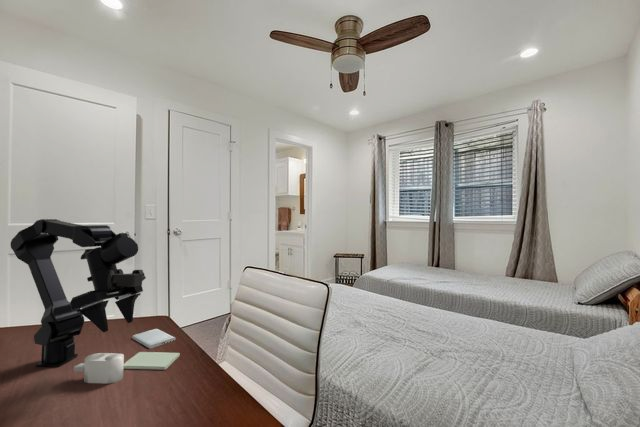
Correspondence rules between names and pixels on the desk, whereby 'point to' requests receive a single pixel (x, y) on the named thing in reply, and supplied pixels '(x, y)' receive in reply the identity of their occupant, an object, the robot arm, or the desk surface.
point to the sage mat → (151, 360)
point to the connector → (102, 368)
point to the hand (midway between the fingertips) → (118, 326)
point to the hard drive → (153, 338)
